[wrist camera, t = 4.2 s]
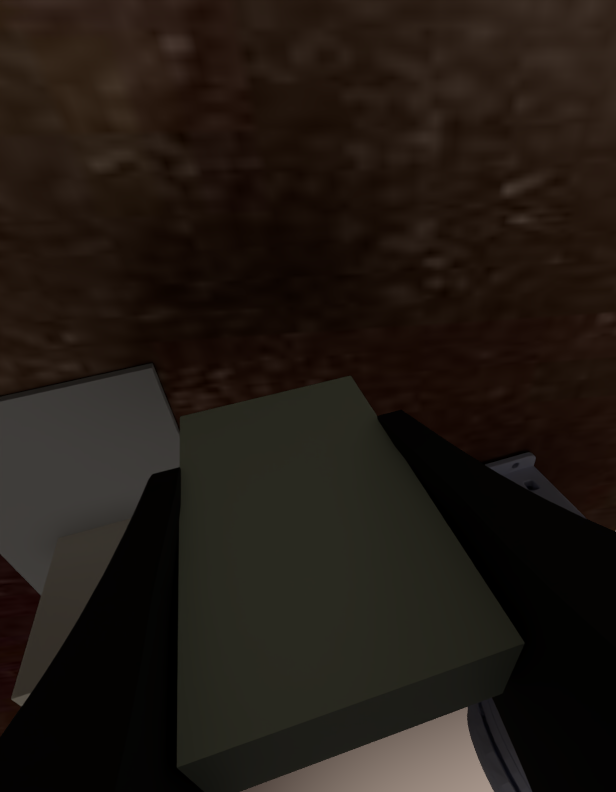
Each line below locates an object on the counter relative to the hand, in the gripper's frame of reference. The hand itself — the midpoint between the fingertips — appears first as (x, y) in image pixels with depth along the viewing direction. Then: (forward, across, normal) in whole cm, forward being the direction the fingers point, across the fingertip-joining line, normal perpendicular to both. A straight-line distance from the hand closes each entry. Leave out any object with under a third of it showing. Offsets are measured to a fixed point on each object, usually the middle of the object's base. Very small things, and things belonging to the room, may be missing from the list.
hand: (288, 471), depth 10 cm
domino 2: (+2, 0, 0) cm, 2 cm away
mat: (+9, +9, +15) cm, 20 cm away
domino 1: (+8, +9, +10) cm, 16 cm away
